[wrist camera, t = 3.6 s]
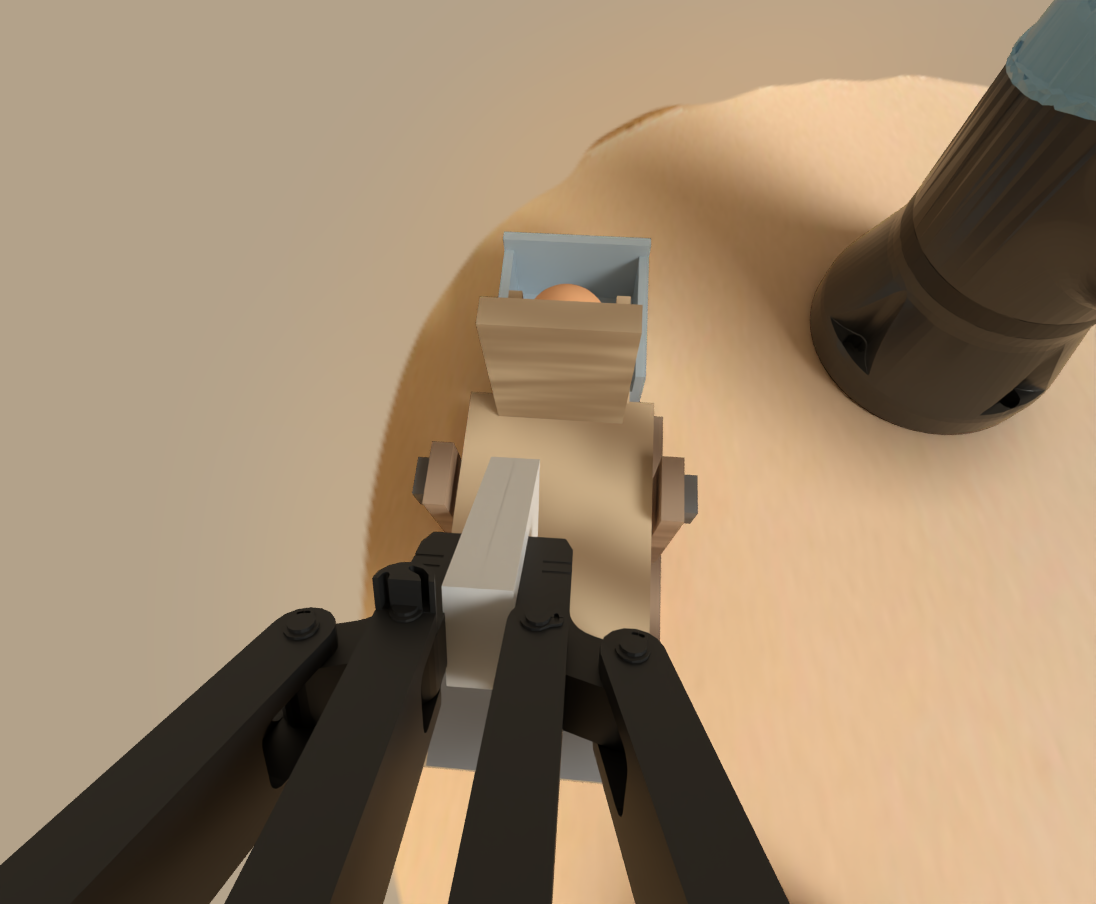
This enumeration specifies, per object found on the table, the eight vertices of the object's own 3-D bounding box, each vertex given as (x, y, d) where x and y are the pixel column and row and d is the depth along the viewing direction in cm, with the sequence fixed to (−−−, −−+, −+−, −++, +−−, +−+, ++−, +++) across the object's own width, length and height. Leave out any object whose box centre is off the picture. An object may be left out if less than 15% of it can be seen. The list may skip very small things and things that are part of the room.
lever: (642, 783, 24) (684, 836, 16) (424, 762, 25) (351, 803, 16) (652, 322, 32) (684, 191, 24) (487, 313, 33) (459, 182, 24)
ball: (546, 305, 32) (544, 254, 28) (617, 331, 31) (624, 283, 27) (513, 366, 30) (506, 322, 27) (586, 396, 30) (589, 354, 26)
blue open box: (636, 413, 40) (647, 368, 34) (497, 404, 40) (486, 359, 35) (640, 296, 43) (651, 238, 37) (511, 290, 43) (503, 231, 38)
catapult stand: (662, 664, 34) (702, 656, 24) (435, 645, 35) (385, 629, 25) (665, 422, 39) (698, 335, 30) (469, 409, 40) (437, 321, 30)
